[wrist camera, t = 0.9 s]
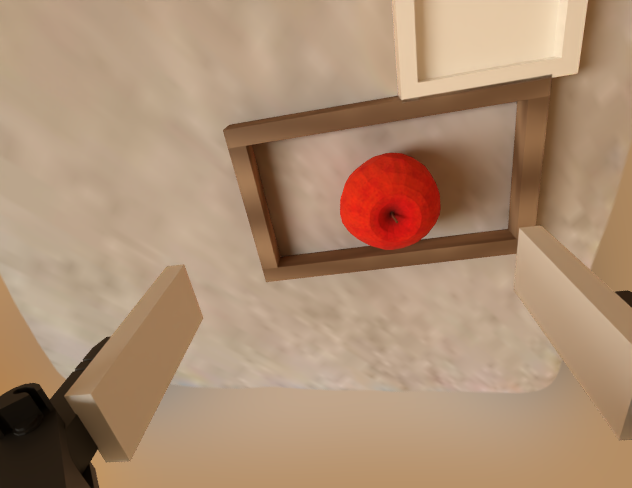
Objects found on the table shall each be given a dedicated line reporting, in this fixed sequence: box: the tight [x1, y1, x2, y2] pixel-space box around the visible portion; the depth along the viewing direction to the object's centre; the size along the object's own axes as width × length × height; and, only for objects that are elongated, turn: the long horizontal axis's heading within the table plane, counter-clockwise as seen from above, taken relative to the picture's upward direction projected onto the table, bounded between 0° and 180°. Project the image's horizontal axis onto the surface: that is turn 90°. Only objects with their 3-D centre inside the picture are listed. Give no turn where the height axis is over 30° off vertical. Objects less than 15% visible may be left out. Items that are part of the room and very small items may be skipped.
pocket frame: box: [223, 74, 552, 282], centre depth 34 cm, size 15×25×2 cm, turn 100°
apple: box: [340, 153, 440, 250], centre depth 32 cm, size 8×8×7 cm
